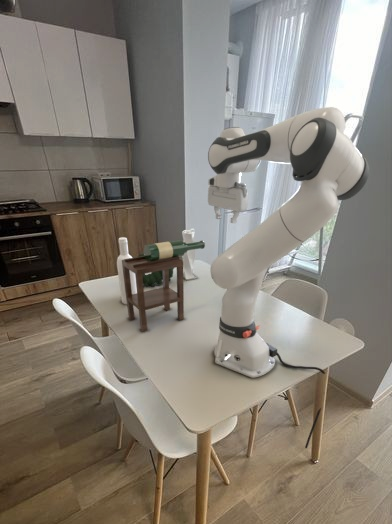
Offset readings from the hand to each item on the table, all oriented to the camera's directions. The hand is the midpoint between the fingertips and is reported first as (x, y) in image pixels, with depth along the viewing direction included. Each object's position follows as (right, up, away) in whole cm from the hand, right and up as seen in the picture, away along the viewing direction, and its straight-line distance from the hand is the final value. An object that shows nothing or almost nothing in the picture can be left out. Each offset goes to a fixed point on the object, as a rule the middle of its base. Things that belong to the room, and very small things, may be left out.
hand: (225, 220), depth 119 cm
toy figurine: (-34, -15, +47) cm, 60 cm away
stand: (-29, -38, +13) cm, 50 cm away
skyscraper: (-16, -10, +56) cm, 59 cm away
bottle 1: (-44, -28, +27) cm, 59 cm away
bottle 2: (-21, -13, +3) cm, 25 cm away
